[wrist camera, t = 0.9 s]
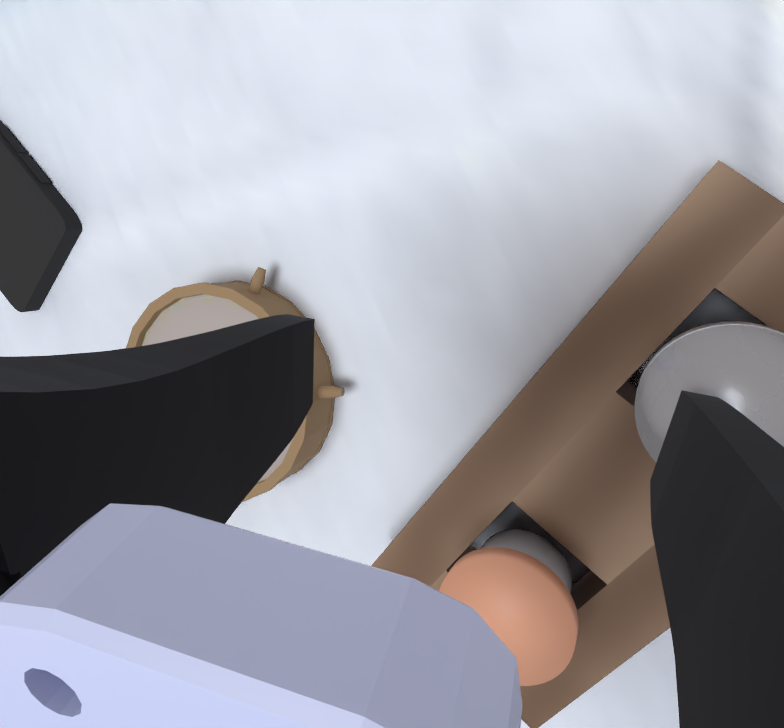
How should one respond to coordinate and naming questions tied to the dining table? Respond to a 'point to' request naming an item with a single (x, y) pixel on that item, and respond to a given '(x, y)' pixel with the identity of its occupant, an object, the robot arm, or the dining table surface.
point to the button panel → (603, 432)
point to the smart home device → (30, 227)
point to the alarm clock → (231, 307)
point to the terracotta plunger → (521, 600)
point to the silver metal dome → (714, 377)
